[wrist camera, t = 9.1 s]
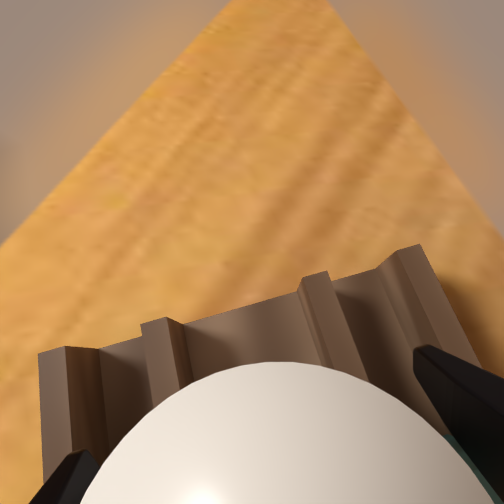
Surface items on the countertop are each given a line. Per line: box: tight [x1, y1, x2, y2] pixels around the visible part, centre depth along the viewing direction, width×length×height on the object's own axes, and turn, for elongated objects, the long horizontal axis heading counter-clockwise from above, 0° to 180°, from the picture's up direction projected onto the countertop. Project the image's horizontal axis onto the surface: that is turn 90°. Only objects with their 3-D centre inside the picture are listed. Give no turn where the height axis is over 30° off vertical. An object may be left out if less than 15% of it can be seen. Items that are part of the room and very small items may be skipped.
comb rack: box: [38, 244, 504, 504], centre depth 13 cm, size 20×14×5 cm
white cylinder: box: [80, 362, 494, 504], centre depth 9 cm, size 5×5×13 cm
